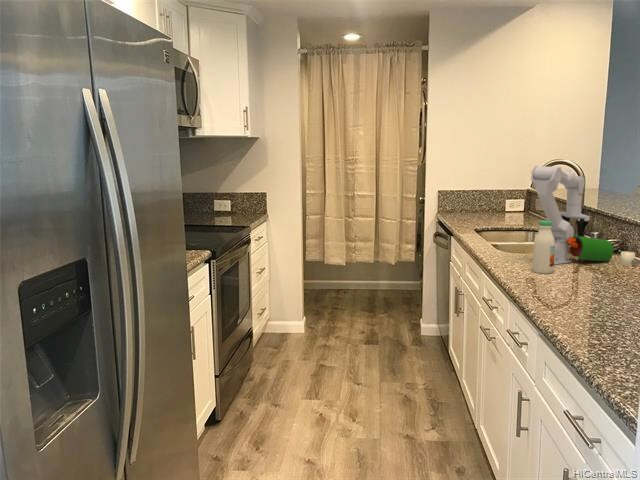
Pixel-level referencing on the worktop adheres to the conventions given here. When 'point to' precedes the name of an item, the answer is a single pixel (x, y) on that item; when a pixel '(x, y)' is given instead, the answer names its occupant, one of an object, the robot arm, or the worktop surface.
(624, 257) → the cream capsule with tab
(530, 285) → the worktop surface
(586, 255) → the green vase with flowers
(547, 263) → the milk bottle
